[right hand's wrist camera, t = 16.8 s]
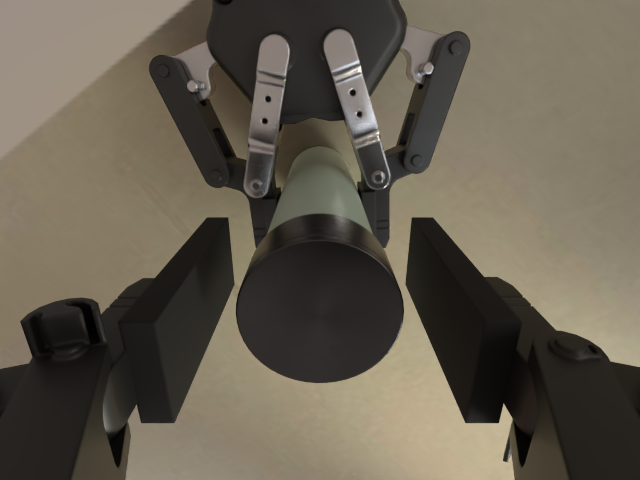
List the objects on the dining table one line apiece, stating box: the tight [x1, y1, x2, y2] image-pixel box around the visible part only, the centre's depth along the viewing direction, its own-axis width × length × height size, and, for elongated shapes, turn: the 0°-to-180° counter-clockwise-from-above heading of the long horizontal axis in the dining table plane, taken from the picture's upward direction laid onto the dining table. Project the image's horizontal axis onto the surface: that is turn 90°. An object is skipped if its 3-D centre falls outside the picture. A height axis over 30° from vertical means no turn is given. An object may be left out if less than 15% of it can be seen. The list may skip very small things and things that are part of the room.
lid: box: [236, 213, 404, 383], centre depth 11 cm, size 4×4×2 cm
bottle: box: [267, 146, 373, 234], centre depth 18 cm, size 4×4×16 cm
